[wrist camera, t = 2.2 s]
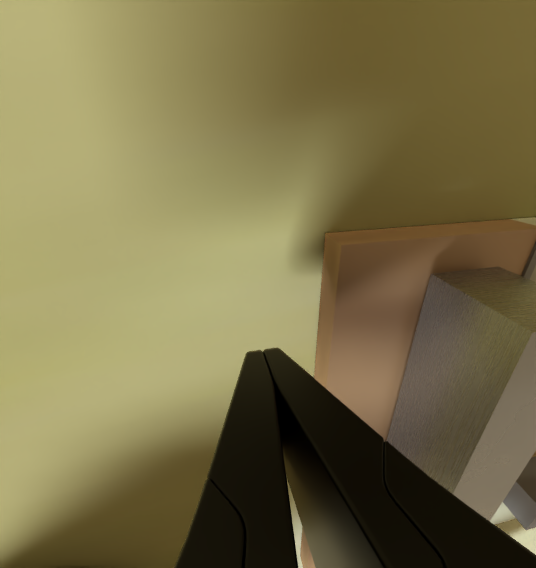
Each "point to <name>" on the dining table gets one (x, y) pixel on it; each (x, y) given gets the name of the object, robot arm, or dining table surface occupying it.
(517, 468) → the bar
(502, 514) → the door mock-up board
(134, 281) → the dining table surface
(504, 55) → the dining table surface
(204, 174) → the dining table surface
